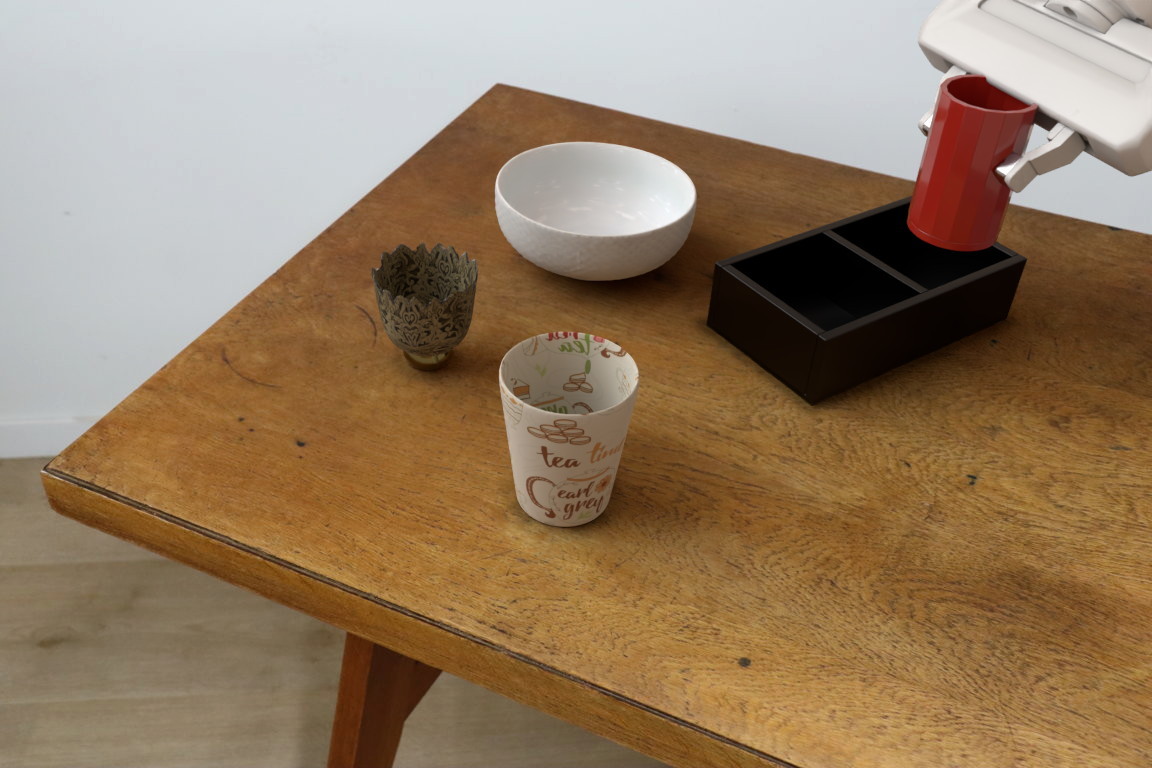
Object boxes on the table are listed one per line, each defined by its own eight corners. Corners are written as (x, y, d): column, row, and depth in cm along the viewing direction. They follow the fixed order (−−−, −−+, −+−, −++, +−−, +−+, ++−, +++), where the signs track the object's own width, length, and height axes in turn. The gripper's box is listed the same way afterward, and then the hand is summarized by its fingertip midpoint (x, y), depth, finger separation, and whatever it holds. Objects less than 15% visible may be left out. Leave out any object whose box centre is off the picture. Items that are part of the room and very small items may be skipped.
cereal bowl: (684, 321, 88) (694, 244, 84) (478, 301, 89) (477, 223, 85) (691, 218, 102) (700, 147, 97) (512, 201, 103) (512, 130, 98)
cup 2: (946, 199, 81) (982, 67, 75) (1016, 236, 77) (1060, 100, 71) (888, 220, 78) (921, 85, 72) (957, 260, 74) (998, 120, 68)
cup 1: (457, 399, 79) (455, 305, 74) (362, 378, 80) (353, 285, 76) (492, 341, 85) (492, 251, 80) (402, 323, 86) (396, 233, 81)
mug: (481, 526, 69) (480, 400, 63) (535, 405, 79) (538, 286, 73) (612, 553, 68) (624, 427, 62) (650, 427, 77) (663, 307, 71)
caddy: (897, 253, 98) (912, 194, 95) (1007, 319, 91) (1028, 258, 87) (706, 324, 88) (714, 261, 84) (811, 405, 80) (826, 340, 77)
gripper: (1268, 85, 67) (1095, 256, 69) (1026, -20, 81) (889, 124, 83) (1248, 19, 62) (1064, 204, 65) (995, -79, 77) (853, 75, 79)
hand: (964, 158), depth 74 cm, fingers closed on cup 2, 6 cm apart
